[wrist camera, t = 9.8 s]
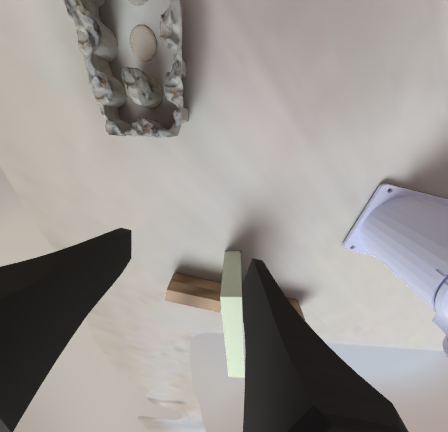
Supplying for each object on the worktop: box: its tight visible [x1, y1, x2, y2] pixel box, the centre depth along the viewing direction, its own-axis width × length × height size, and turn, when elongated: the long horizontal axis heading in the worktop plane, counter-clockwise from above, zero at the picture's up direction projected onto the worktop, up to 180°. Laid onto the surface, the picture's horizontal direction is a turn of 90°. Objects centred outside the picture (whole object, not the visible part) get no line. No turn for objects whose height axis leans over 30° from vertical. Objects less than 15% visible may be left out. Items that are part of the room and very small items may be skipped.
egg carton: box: [64, 0, 189, 137], centre depth 14 cm, size 11×8×4 cm
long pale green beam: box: [220, 251, 245, 378], centre depth 23 cm, size 14×2×7 cm, turn 4°
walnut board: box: [165, 273, 305, 320], centre depth 24 cm, size 18×2×3 cm, turn 77°
